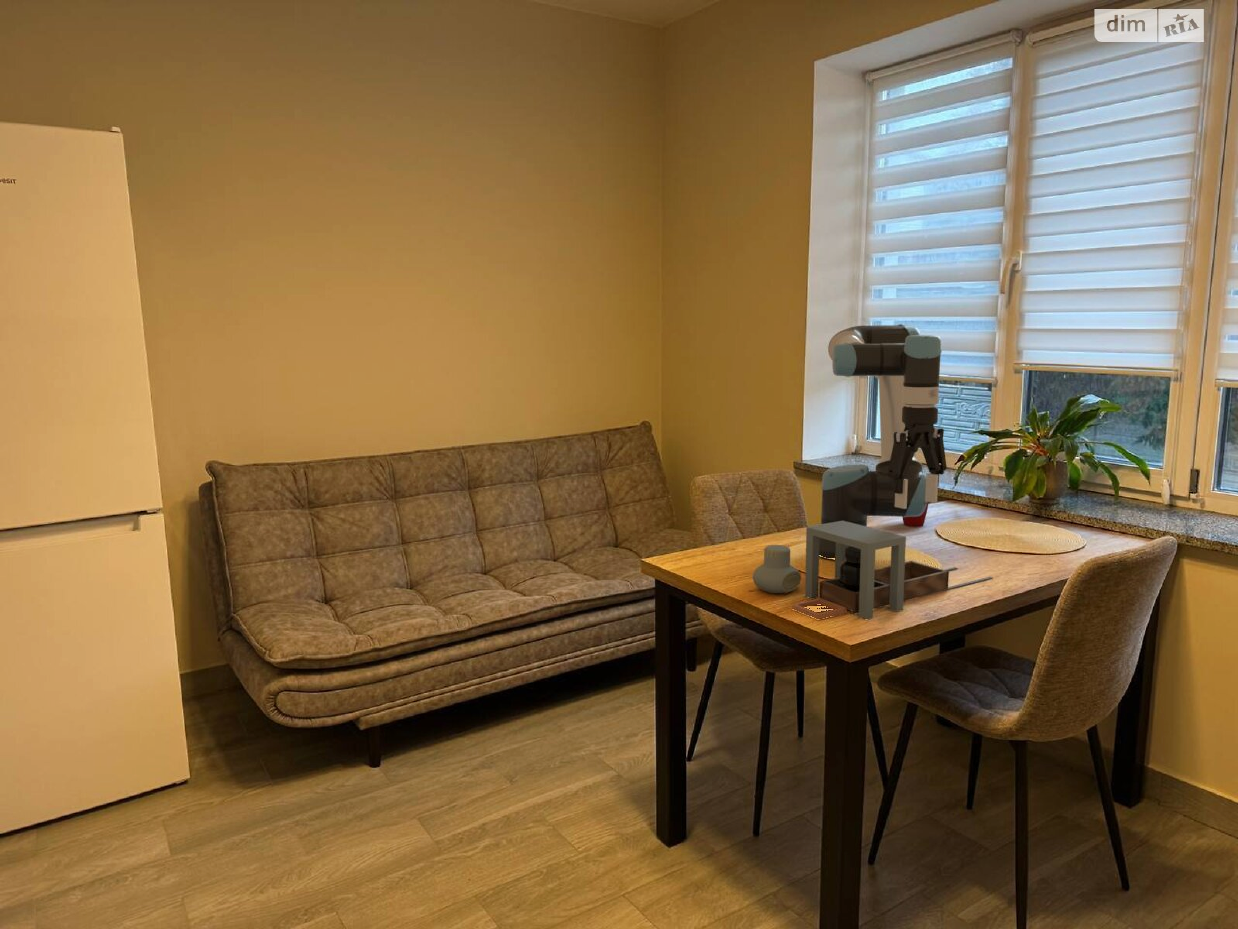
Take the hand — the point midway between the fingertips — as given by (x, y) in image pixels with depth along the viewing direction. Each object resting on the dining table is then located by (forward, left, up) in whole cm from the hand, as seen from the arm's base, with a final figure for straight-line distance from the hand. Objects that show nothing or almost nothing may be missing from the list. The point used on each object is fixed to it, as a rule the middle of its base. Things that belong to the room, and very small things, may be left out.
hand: (916, 504), depth 195 cm
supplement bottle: (0, -19, -20) cm, 27 cm away
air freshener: (-16, -26, -20) cm, 37 cm away
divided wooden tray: (0, -9, -19) cm, 21 cm away
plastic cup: (-42, +49, -20) cm, 68 cm away
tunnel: (0, -2, -20) cm, 20 cm away
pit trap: (0, -29, -20) cm, 35 cm away
